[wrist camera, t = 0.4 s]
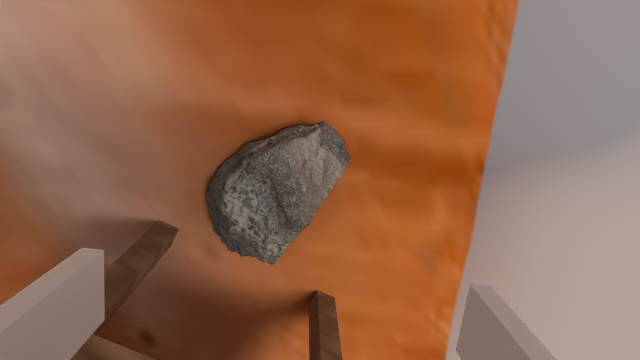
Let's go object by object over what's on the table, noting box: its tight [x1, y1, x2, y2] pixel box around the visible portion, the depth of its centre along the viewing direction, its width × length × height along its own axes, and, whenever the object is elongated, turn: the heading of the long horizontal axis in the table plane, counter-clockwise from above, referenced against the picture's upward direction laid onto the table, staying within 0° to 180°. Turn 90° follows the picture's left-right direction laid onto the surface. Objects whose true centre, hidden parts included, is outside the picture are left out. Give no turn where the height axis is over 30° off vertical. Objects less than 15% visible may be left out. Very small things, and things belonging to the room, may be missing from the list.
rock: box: [206, 122, 351, 265], centre depth 32 cm, size 13×9×6 cm, turn 142°
